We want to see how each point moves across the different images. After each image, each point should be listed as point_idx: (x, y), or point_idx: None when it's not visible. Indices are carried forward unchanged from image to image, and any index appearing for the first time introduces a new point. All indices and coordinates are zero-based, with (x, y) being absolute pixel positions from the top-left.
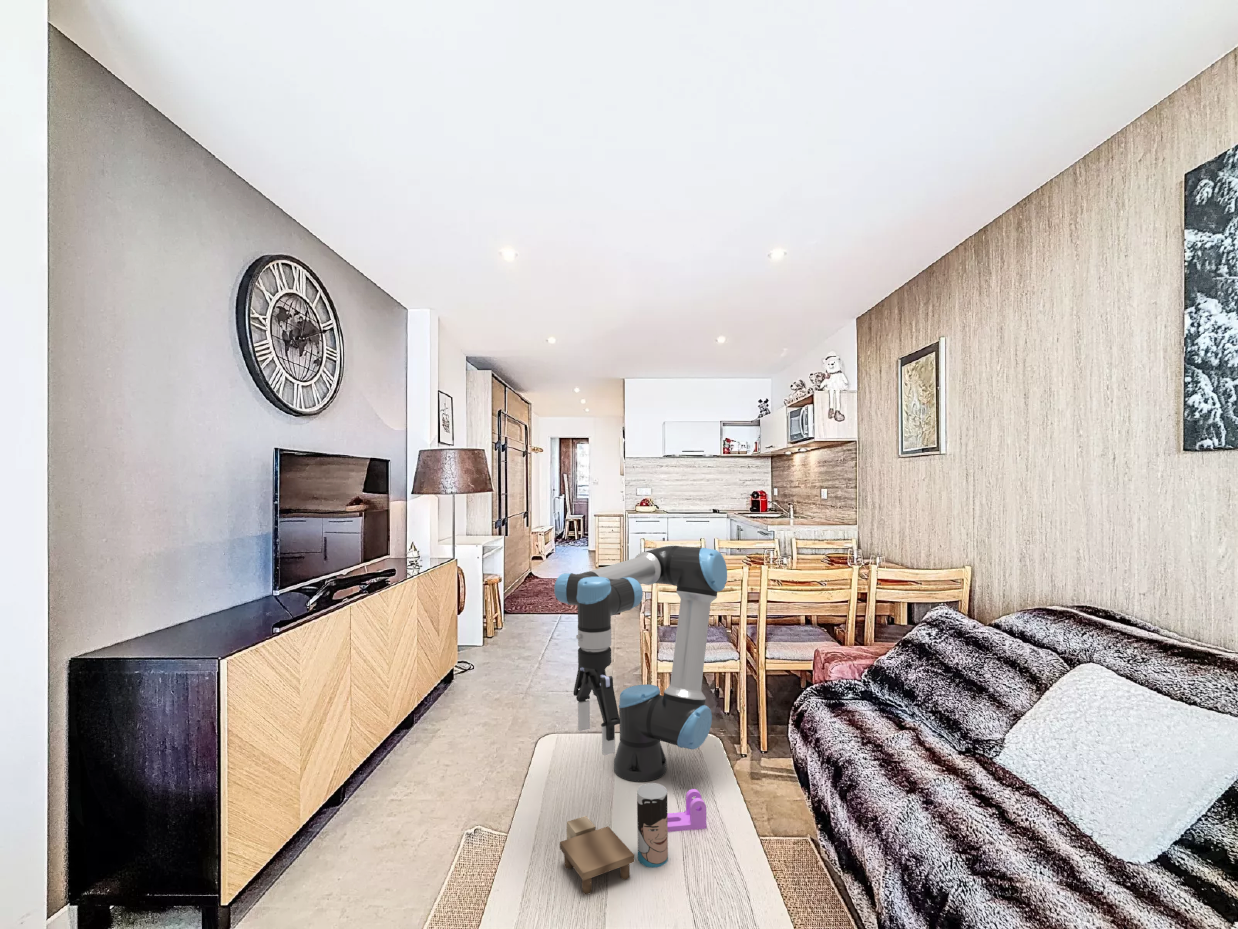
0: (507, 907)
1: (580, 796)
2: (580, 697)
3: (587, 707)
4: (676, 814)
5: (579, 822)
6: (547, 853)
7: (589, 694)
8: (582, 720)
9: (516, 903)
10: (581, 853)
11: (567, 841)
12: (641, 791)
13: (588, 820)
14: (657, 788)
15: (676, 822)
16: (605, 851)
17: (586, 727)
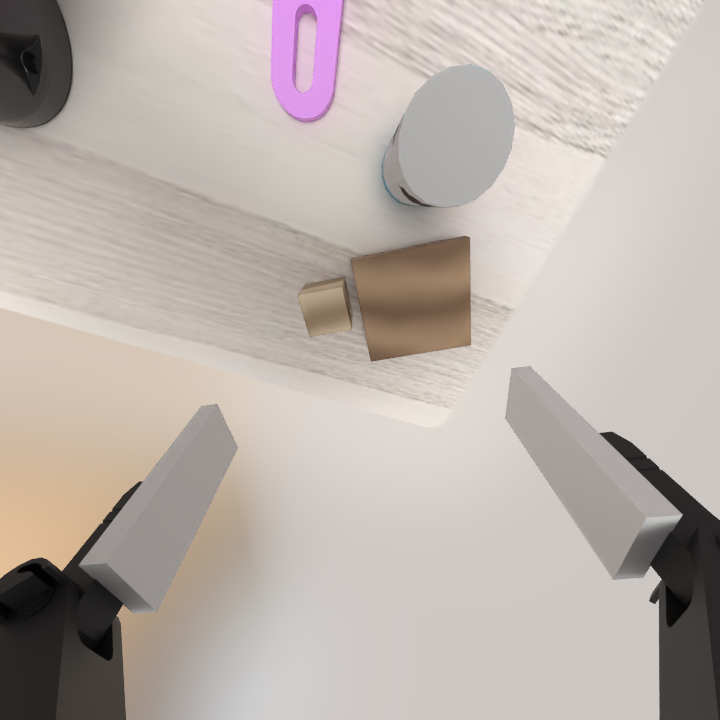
0: (428, 416)
1: (155, 258)
2: (118, 670)
3: (151, 523)
4: (282, 9)
5: (318, 314)
6: (335, 355)
7: (61, 663)
8: (209, 475)
9: (426, 407)
10: (418, 335)
11: (374, 349)
12: (442, 189)
13: (316, 295)
14: (451, 110)
15: (321, 32)
16: (431, 292)
17: (220, 426)
